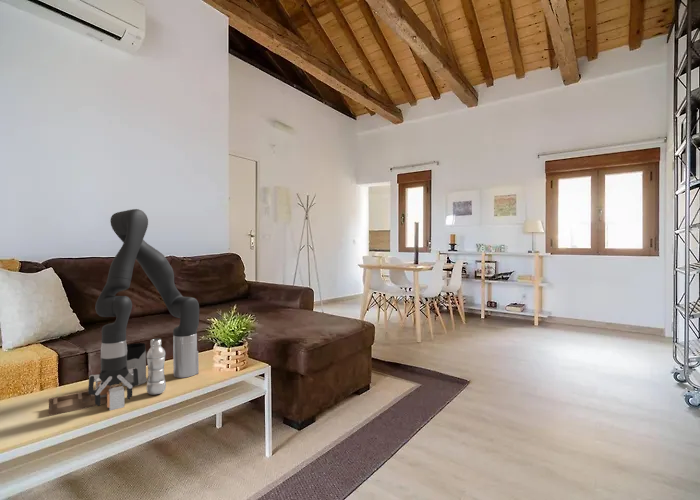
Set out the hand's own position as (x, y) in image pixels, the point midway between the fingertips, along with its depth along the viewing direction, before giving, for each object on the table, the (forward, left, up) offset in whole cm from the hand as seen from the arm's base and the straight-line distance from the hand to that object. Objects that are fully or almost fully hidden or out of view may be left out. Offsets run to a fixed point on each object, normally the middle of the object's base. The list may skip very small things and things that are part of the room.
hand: (113, 402), depth 124 cm
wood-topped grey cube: (-1, 0, -2) cm, 2 cm away
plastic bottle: (-14, -4, -2) cm, 14 cm away
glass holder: (-7, -23, -2) cm, 24 cm away
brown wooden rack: (+7, -9, -2) cm, 12 cm away
